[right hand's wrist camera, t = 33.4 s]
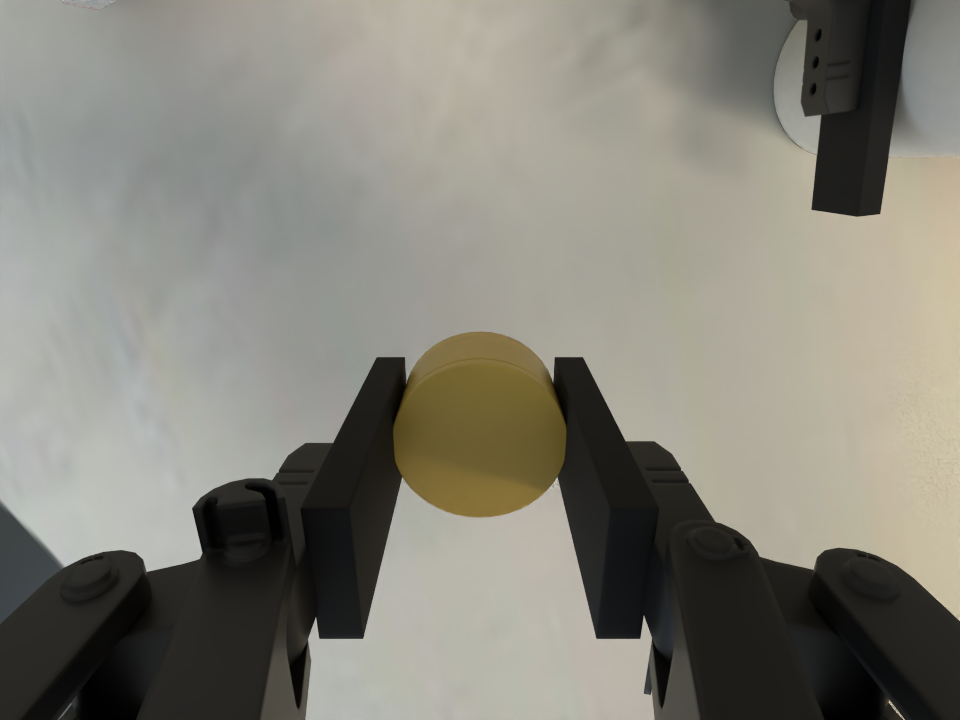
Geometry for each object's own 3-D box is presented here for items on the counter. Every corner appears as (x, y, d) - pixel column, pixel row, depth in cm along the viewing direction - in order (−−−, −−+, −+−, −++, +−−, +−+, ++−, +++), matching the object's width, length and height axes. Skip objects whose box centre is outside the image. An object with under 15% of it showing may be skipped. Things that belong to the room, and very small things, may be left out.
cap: (584, 378, 14) (603, 418, 12) (503, 489, 16) (507, 542, 13) (452, 302, 14) (446, 330, 11) (378, 425, 15) (361, 471, 13)
